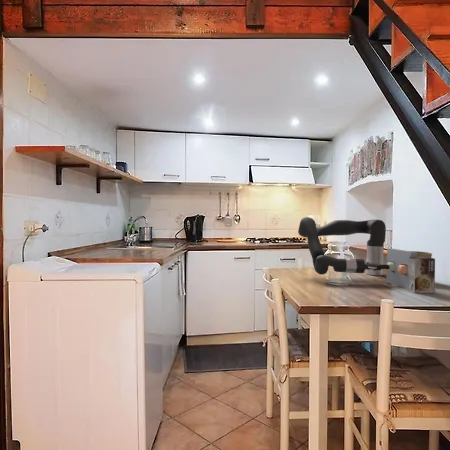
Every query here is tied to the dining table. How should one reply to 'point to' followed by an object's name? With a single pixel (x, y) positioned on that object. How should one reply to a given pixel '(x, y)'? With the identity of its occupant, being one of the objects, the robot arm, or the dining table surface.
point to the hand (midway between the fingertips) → (388, 266)
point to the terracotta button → (402, 269)
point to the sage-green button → (391, 266)
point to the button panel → (400, 259)
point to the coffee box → (422, 274)
